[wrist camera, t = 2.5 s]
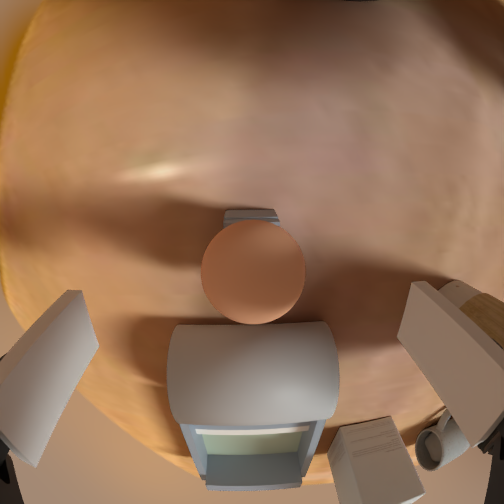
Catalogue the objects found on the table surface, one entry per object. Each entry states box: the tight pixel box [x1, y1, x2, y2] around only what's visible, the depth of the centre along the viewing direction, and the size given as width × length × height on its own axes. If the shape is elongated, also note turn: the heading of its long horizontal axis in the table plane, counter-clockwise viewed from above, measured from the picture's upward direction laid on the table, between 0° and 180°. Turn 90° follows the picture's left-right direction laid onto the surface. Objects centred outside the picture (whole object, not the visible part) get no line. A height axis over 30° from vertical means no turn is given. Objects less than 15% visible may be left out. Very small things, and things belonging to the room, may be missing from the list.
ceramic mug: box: [415, 409, 470, 471], centre depth 26 cm, size 11×8×8 cm
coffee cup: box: [438, 280, 504, 452], centre depth 14 cm, size 10×10×15 cm
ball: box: [201, 220, 306, 324], centre depth 13 cm, size 5×5×5 cm
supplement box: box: [327, 416, 426, 504], centre depth 22 cm, size 7×7×13 cm
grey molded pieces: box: [167, 209, 339, 491], centre depth 21 cm, size 31×13×8 cm, turn 0°
